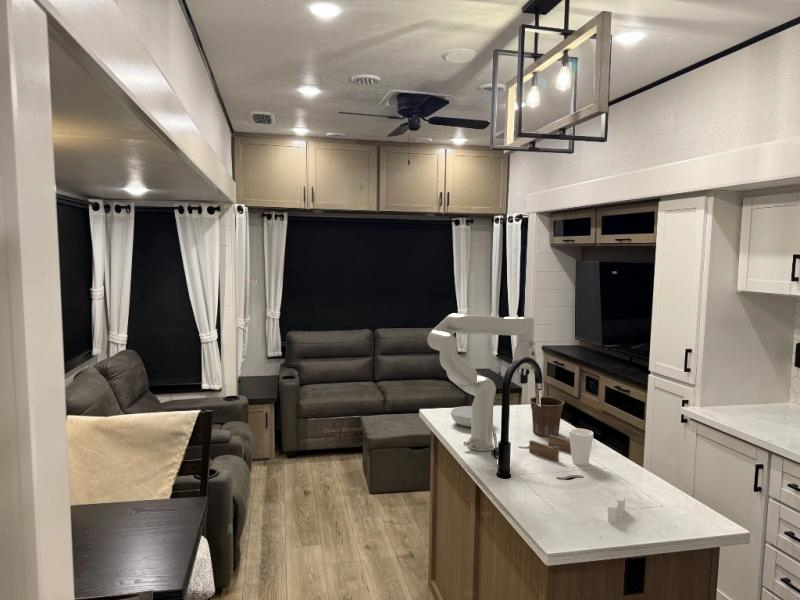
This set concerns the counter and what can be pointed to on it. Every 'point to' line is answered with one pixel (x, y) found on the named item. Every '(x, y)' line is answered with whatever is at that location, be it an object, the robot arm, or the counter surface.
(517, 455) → the counter surface
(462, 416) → the serving bowl
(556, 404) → the plant pot
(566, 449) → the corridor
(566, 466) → the counter surface
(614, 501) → the napkin holder
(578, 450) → the foam cup
